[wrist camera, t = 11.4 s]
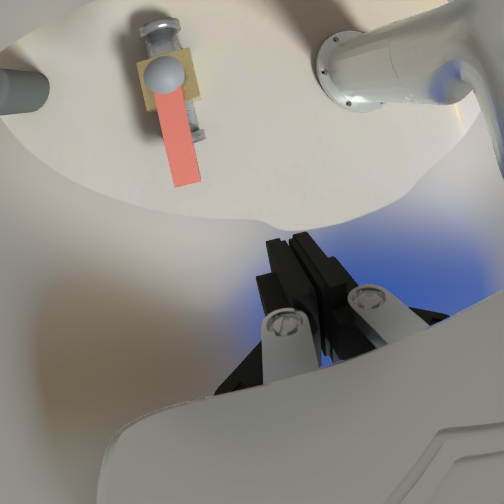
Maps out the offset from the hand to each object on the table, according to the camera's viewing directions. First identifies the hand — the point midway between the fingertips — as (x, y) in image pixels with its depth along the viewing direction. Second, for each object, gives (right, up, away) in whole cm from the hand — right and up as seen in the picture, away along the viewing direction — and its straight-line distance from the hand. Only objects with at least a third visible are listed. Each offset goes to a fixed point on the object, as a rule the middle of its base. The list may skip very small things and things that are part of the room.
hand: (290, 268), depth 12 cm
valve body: (-11, +22, +20) cm, 32 cm away
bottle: (-32, +23, +16) cm, 43 cm away
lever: (-10, +15, +17) cm, 24 cm away
